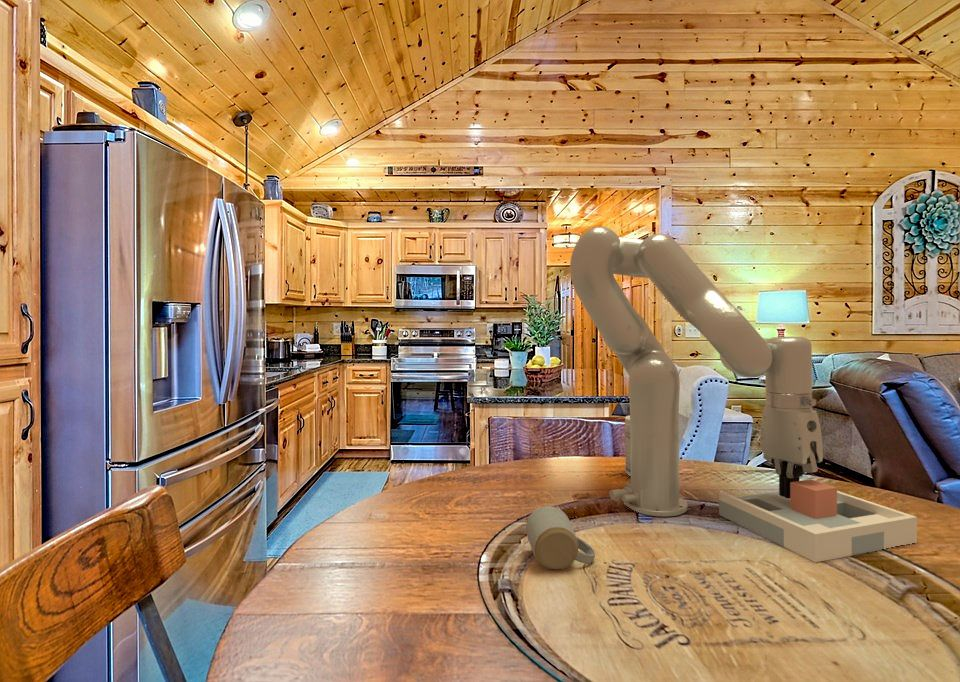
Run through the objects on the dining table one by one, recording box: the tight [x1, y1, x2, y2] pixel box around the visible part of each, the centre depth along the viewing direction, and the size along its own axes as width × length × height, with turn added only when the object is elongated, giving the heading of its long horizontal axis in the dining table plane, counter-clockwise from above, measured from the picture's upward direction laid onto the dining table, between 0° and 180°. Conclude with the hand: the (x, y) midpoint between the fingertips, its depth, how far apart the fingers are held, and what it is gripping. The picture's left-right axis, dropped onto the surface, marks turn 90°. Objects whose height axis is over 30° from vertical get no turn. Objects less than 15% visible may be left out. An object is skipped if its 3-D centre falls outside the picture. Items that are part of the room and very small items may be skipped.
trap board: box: [718, 490, 918, 563], centre depth 90 cm, size 22×20×4 cm
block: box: [790, 479, 838, 519], centre depth 89 cm, size 5×5×5 cm
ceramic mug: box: [525, 505, 596, 570], centre depth 79 cm, size 11×8×8 cm
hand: (789, 496), depth 94 cm, fingers closed
